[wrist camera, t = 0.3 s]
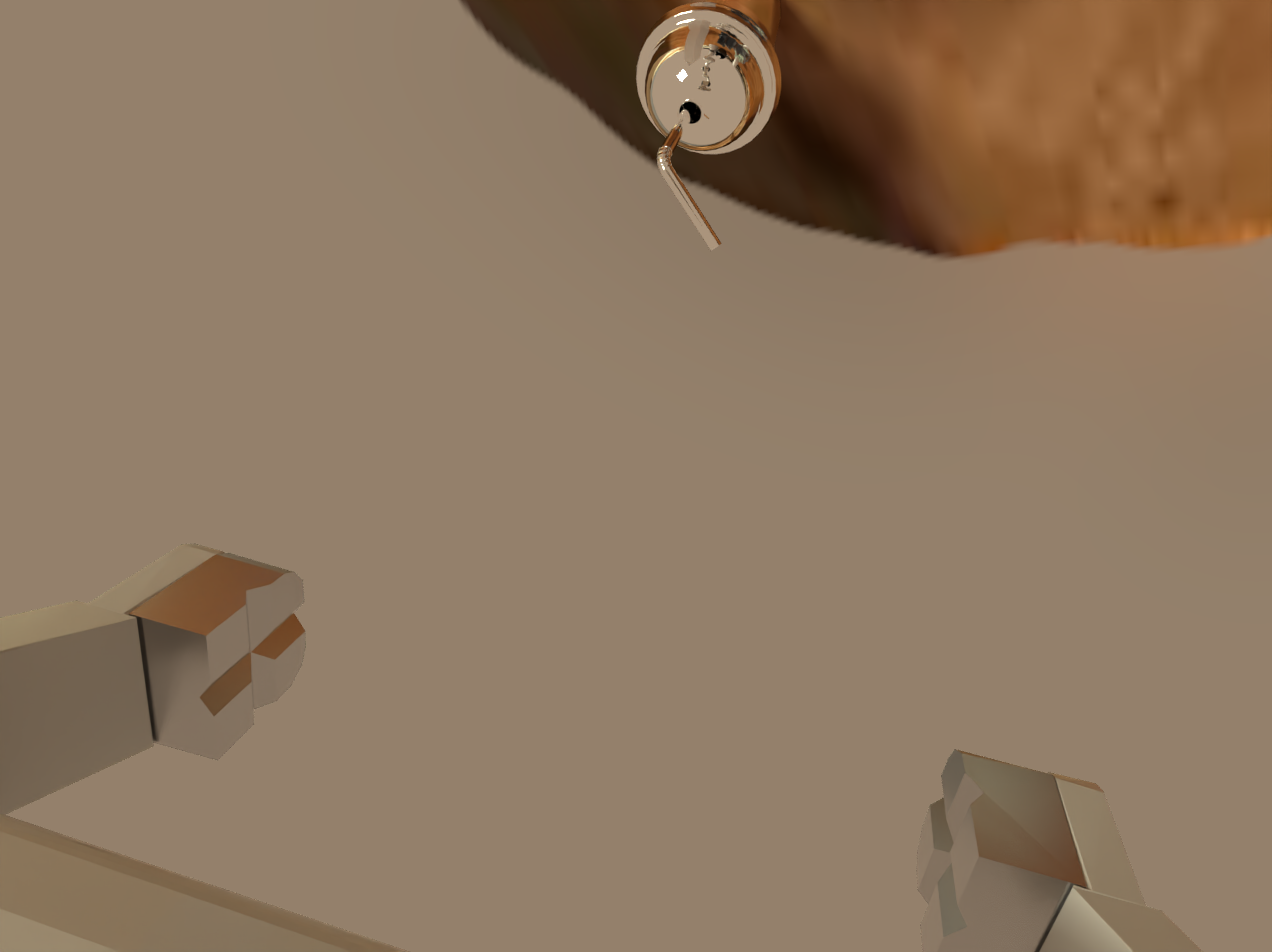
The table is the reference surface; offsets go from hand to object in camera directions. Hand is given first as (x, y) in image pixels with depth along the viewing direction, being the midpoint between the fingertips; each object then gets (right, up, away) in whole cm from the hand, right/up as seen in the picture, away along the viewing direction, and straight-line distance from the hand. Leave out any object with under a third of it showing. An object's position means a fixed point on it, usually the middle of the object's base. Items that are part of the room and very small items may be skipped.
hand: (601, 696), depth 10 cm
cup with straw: (+8, +33, +45) cm, 56 cm away
